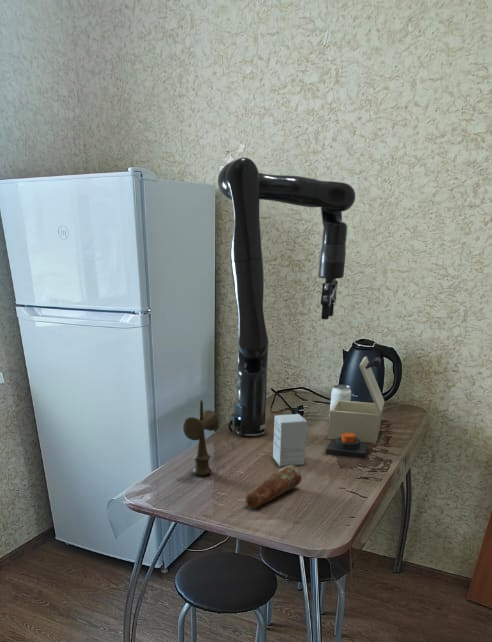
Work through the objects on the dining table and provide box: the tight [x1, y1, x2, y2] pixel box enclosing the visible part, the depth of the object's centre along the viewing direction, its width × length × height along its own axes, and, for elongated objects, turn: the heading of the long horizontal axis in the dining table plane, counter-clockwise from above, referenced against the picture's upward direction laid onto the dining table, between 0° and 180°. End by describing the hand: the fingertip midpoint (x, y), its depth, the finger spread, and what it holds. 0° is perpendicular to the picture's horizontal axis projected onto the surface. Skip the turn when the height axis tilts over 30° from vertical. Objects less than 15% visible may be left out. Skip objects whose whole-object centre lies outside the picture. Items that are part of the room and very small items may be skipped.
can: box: [328, 384, 352, 418], centre depth 194 cm, size 6×6×12 cm
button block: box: [325, 437, 369, 459], centre depth 169 cm, size 11×9×4 cm
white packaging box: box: [272, 413, 308, 467], centre depth 160 cm, size 7×7×13 cm
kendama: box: [182, 399, 220, 477], centre depth 150 cm, size 6×10×20 cm, turn 150°
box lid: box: [358, 355, 385, 414], centre depth 175 cm, size 16×14×5 cm
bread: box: [245, 465, 302, 509], centre depth 140 cm, size 6×19×6 cm, turn 140°
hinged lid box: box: [327, 400, 383, 444], centre depth 182 cm, size 15×14×9 cm
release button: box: [341, 433, 356, 443], centre depth 168 cm, size 4×4×2 cm
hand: (327, 317), depth 181 cm, fingers open, 8 cm apart
